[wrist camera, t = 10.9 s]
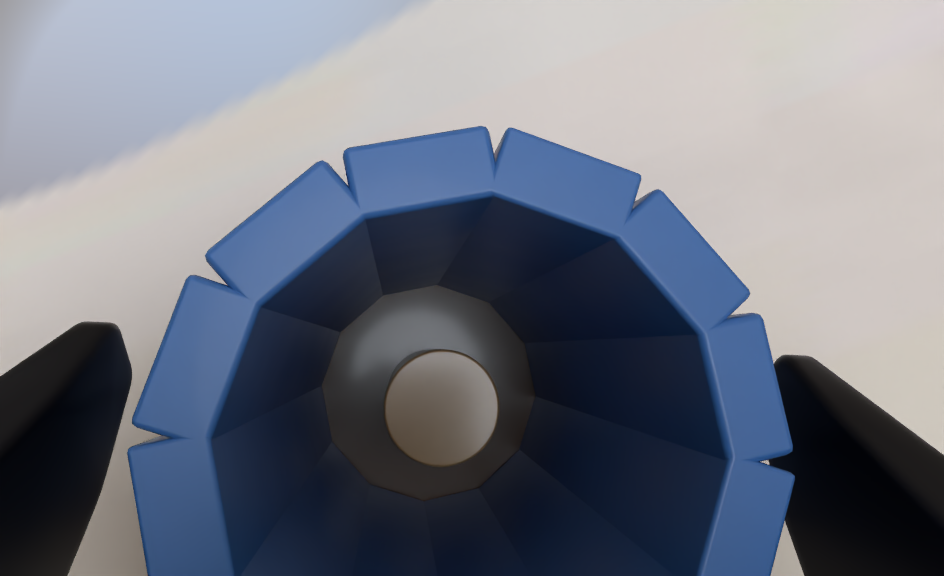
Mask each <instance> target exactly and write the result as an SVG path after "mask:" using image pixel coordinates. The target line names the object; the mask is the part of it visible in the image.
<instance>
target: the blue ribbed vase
mask: <svg viewBox="0 0 944 576" xmlns="http://www.w3.org/2000/svg"><path fill="white" fill-rule="evenodd" d="M343 160H344V165H345V170H346V175H347V181H348V185H347V184H346V183H345V182H344V181H343V180H342V179H341V178H340V176H339V175H338V174H337V173H336V172H335V171H334V170H333V168H332V167H331V166H330V165H329V164H328V163H326V162H324V161H319V162H316V163H315V164H314V165H313V166H311V167H310V168H309V169H308V170H307V171H305V172H304V173H303V174H302V175H300V176H299V177H298V178H297V179H295V180H294V181H293V182H292V183H290V184H289V185H288V186H287V187H286V188H284V189H283V190H282V191H281V192H279V193H278V194H277V195H276V196H274V197H273V198H272V199H271V200H269V201H268V202H267V203H266V204H265V205H263V206H262V207H261V208H260V209H258V210H257V211H256V212H255V213H253V214H252V215H251V216H250V217H248V218H247V219H246V220H245V221H244V222H242V223H241V224H240V225H239V226H237V227H236V228H235V229H234V230H232V231H231V232H230V233H229V234H227V235H226V236H225V237H224V238H223V239H221V240H220V241H219V242H218V243H216V244H215V245H214V246H213V247H211V248H210V249H209V250H208V251H207V253H206V255H205V257H206V260H207V262H208V263H209V265H210V266H211V267H212V268H213V269H214V270H215V271H216V273H217V274H218V275H219V276H220V277H221V278H222V279H223V280H224V282H225V283H226V284H227V285H228V286H227V285H224V284H221V283H218V282H215V281H212V280H209V279H206V278H203V277H200V276H197V275H190V276H189V277H188V278H187V279H186V280H185V283H184V286H183V288H182V291H181V293H180V296H179V299H178V301H177V304H176V306H175V309H174V311H173V314H172V317H171V319H170V322H169V324H168V327H167V330H166V332H165V335H164V337H163V340H162V342H161V345H160V348H159V350H158V353H157V355H156V358H155V361H154V363H153V366H152V368H151V371H150V373H149V376H148V379H147V381H146V384H145V386H144V389H143V392H142V394H141V397H140V399H139V402H138V404H137V407H136V410H135V412H134V415H133V417H132V424H133V425H134V426H136V427H137V428H140V429H143V430H146V431H150V432H153V433H156V434H159V435H162V436H159V437H156V438H154V439H151V440H148V441H145V442H143V443H140V444H137V445H135V446H132V447H131V448H129V449H128V452H127V454H128V460H129V466H130V472H131V478H132V484H133V490H134V496H135V502H136V508H137V514H138V520H139V526H140V532H141V537H142V543H143V549H144V555H145V561H146V567H147V573H148V576H770V575H771V571H772V567H773V563H774V559H775V555H776V551H777V547H778V543H779V540H780V536H781V532H782V528H783V524H784V520H785V516H786V512H787V508H788V505H789V501H790V497H791V493H792V489H793V485H794V481H795V476H794V475H793V474H792V473H791V472H789V471H786V470H782V469H779V468H776V467H773V466H770V465H767V464H764V463H761V462H760V461H764V460H769V459H773V458H777V457H781V456H785V455H787V454H789V453H790V452H792V450H793V444H792V440H791V436H790V432H789V427H788V423H787V419H786V415H785V411H784V406H783V402H782V398H781V394H780V389H779V385H778V381H777V377H776V372H775V368H774V364H773V360H772V355H771V351H770V347H769V343H768V339H767V334H766V330H765V326H764V322H763V319H762V317H761V316H760V315H759V314H755V313H746V314H736V315H731V314H732V313H733V312H734V311H735V310H736V309H737V308H738V307H739V306H740V305H741V304H742V303H743V302H744V301H745V300H746V299H747V298H748V297H749V295H750V292H749V289H748V288H747V287H746V286H745V285H744V284H743V283H742V281H741V280H740V279H739V278H738V277H737V276H736V275H735V273H734V272H733V271H732V270H731V269H730V268H729V267H728V266H727V264H726V263H725V262H724V261H723V260H722V259H721V258H720V256H719V255H718V254H717V253H716V252H715V251H714V250H713V248H712V247H711V246H710V245H709V244H708V243H707V242H706V240H705V239H704V238H703V237H702V236H701V235H700V234H699V232H698V231H697V230H696V229H695V228H694V227H693V226H692V225H691V223H690V222H689V221H688V220H687V219H686V218H685V217H684V215H683V214H682V213H681V212H680V211H679V210H678V209H677V207H676V206H675V205H674V204H673V203H672V202H671V201H670V199H669V198H668V197H667V196H666V195H665V194H664V193H663V192H662V191H661V190H659V189H657V190H654V191H652V192H650V193H648V194H647V195H645V196H644V197H642V198H640V199H639V200H637V201H635V198H636V195H637V192H638V188H639V185H640V182H641V175H639V174H638V173H635V172H633V171H630V170H627V169H624V168H622V167H619V166H616V165H613V164H611V163H608V162H605V161H602V160H600V159H597V158H594V157H591V156H589V155H586V154H583V153H580V152H578V151H575V150H572V149H569V148H567V147H564V146H561V145H558V144H556V143H553V142H550V141H547V140H545V139H542V138H539V137H536V136H534V135H531V134H528V133H525V132H522V131H520V130H517V129H514V128H508V129H507V130H506V131H505V133H504V135H503V137H502V139H501V141H500V143H499V145H498V147H497V149H496V151H495V153H493V148H492V143H491V139H490V134H489V131H488V130H487V128H486V127H483V126H478V127H472V128H466V129H460V130H453V131H447V132H441V133H435V134H429V135H423V136H417V137H411V138H405V139H399V140H393V141H387V142H381V143H375V144H369V145H363V146H357V147H351V148H348V149H346V150H345V151H344V153H343ZM348 186H349V187H348ZM434 285H439V286H442V287H445V288H448V289H451V290H454V291H457V292H459V293H462V294H465V295H468V296H471V297H474V298H477V299H480V300H483V301H486V302H489V303H490V304H491V306H492V307H493V308H494V309H495V310H496V311H497V312H498V314H499V315H500V316H501V317H502V318H503V319H504V320H505V321H506V323H507V324H508V325H509V326H510V327H511V328H512V329H513V331H514V332H515V333H516V334H517V335H518V336H519V337H520V338H521V340H522V341H523V342H524V343H525V347H526V352H527V357H528V361H529V366H530V371H531V376H532V380H533V385H534V390H535V395H536V397H535V400H534V403H533V407H532V410H531V413H530V416H529V419H528V423H527V426H526V429H525V432H524V436H523V439H522V442H521V445H520V448H519V451H518V452H517V453H516V454H514V455H513V456H512V457H511V458H510V459H509V460H508V461H507V462H506V463H505V464H504V465H503V466H502V467H501V468H500V469H499V470H498V471H496V472H495V473H494V474H493V475H492V476H491V477H490V478H489V479H488V480H487V481H486V482H485V483H484V484H483V485H482V486H481V487H480V488H477V489H473V490H469V491H465V492H460V493H456V494H452V495H448V496H444V497H439V498H435V499H431V500H427V501H421V500H418V499H415V498H412V497H408V496H405V495H402V494H399V493H396V492H392V491H389V490H386V489H383V488H380V487H376V486H373V485H370V484H369V483H368V482H367V481H366V480H365V478H364V477H363V476H362V475H361V474H360V473H359V472H358V470H357V469H356V468H355V467H354V466H353V465H352V464H351V463H350V461H349V460H348V459H347V458H346V457H345V456H344V455H343V454H342V452H341V451H340V450H339V449H338V448H337V447H336V446H335V445H334V443H333V442H332V438H331V433H330V427H329V422H328V417H327V412H326V406H325V401H324V396H323V390H322V383H323V380H324V377H325V375H326V372H327V369H328V366H329V363H330V360H331V358H332V355H333V352H334V349H335V346H336V343H337V341H338V338H339V335H340V332H341V331H342V330H343V329H345V328H346V327H347V326H348V325H349V324H350V323H352V322H353V321H354V320H355V319H356V318H357V317H359V316H360V315H361V314H362V313H363V312H364V311H366V310H367V309H368V308H369V307H370V306H371V305H372V304H374V303H375V302H376V301H377V300H378V299H379V298H381V297H382V296H383V295H388V294H393V293H398V292H403V291H408V290H413V289H418V288H423V287H428V286H434Z"/></svg>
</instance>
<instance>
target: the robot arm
mask: <svg viewBox="0 0 944 576" xmlns="http://www.w3.org/2000/svg"><path fill="white" fill-rule="evenodd" d="M774 368H775V372H776V377H777V381H778V385H779V389H780V394H781V398H782V402H783V406H784V411H785V415H786V419H787V423H788V427H789V432H790V436H791V440H792V444H793V450H792V452H790V453H789V454H787V455H785V456H781V457H777V458H773V459H769V464H770V466H773V467H776V468H779V469H782V470H786V471H789V472H791V473H792V474H793V475H794V476H795V481H794V485H793V489H792V493H791V497H790V501H789V505H788V508H787V512H786V516H785V522H786V525H787V528H788V531H789V534H790V536H791V539H792V542H793V545H794V548H795V550H796V553H797V556H798V559H799V562H800V565H801V567H802V570H803V573H804V576H944V455H943V454H942V453H940V452H939V451H937V450H936V449H935V448H933V447H932V446H931V445H929V444H928V443H927V442H925V441H924V440H923V439H921V438H920V437H919V436H917V435H916V434H915V433H913V432H912V431H911V430H909V429H908V428H907V427H905V426H904V425H903V424H901V423H900V422H899V421H897V420H896V419H895V418H893V417H892V416H891V415H889V414H888V413H887V412H885V411H884V410H883V409H881V408H880V407H879V406H877V405H876V404H874V403H873V402H872V401H870V400H869V399H868V398H866V397H865V396H864V395H862V394H861V393H860V392H858V391H857V390H856V389H854V388H853V387H852V386H850V385H849V384H848V383H846V382H845V381H844V380H842V379H841V378H840V377H838V376H837V375H836V374H834V373H833V372H832V371H830V370H829V369H828V368H826V367H825V366H824V365H822V364H821V363H820V362H818V361H817V360H815V359H814V358H812V357H809V356H802V355H783V356H781V357H779V358H778V359H777V360H776V361H775V363H774ZM131 380H132V368H131V364H130V361H129V357H128V354H127V351H126V348H125V344H124V341H123V338H122V334H121V331H120V329H119V328H118V326H117V325H115V324H113V323H108V322H81V323H79V324H77V325H75V326H73V327H72V328H70V329H69V330H68V331H66V332H65V333H63V334H62V335H60V336H59V337H57V338H56V339H54V340H53V341H51V342H50V343H49V344H47V345H46V346H44V347H43V348H41V349H40V350H38V351H37V352H35V353H34V354H32V355H31V356H29V357H28V358H27V359H25V360H24V361H22V362H21V363H19V364H18V365H16V366H15V367H13V368H12V369H10V370H9V371H8V372H6V373H5V374H3V375H2V376H0V576H67V575H68V573H69V570H70V568H71V566H72V563H73V561H74V558H75V556H76V553H77V551H78V548H79V546H80V543H81V541H82V539H83V536H84V534H85V531H86V529H87V526H88V524H89V521H90V519H91V516H92V514H93V511H94V509H95V506H96V504H97V501H98V498H99V496H100V493H101V490H102V487H103V484H104V480H105V477H106V474H107V470H108V467H109V463H110V459H111V456H112V452H113V448H114V445H115V441H116V437H117V434H118V430H119V426H120V423H121V419H122V415H123V412H124V408H125V404H126V401H127V397H128V393H129V390H130V386H131Z"/></svg>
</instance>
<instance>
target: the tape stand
mask: <svg viewBox="0 0 944 576" xmlns="http://www.w3.org/2000/svg"><path fill="white" fill-rule="evenodd" d="M322 390H323V396H324V401H325V406H326V412H327V417H328V422H329V427H330V433H331V438H332V442H333V443H334V445H335V446H336V447H337V448H338V449H339V450H340V451H341V452H342V454H343V455H344V456H345V457H346V458H347V459H348V460H349V461H350V463H351V464H352V465H353V466H354V467H355V468H356V469H357V470H358V472H359V473H360V474H361V475H362V476H363V477H364V478H365V480H366V481H367V482H368V483H369V484H370V485H373V486H376V487H380V488H383V489H386V490H389V491H392V492H396V493H399V494H402V495H405V496H408V497H412V498H415V499H418V500H421V501H427V500H431V499H435V498H439V497H444V496H448V495H452V494H456V493H460V492H465V491H469V490H473V489H477V488H480V487H481V486H482V485H483V484H484V483H485V482H486V481H487V480H488V479H489V478H490V477H491V476H492V475H493V474H494V473H495V472H496V471H498V470H499V469H500V468H501V467H502V466H503V465H504V464H505V463H506V462H507V461H508V460H509V459H510V458H511V457H512V456H513V455H514V454H516V453H517V452H518V451H519V448H520V445H521V442H522V439H523V436H524V432H525V429H526V426H527V423H528V419H529V416H530V413H531V410H532V407H533V403H534V400H535V397H536V395H535V390H534V385H533V380H532V376H531V371H530V366H529V361H528V357H527V352H526V347H525V343H524V342H523V341H522V340H521V338H520V337H519V336H518V335H517V334H516V333H515V332H514V331H513V329H512V328H511V327H510V326H509V325H508V324H507V323H506V321H505V320H504V319H503V318H502V317H501V316H500V315H499V314H498V312H497V311H496V310H495V309H494V308H493V307H492V306H491V304H490V303H489V302H486V301H483V300H480V299H477V298H474V297H471V296H468V295H465V294H462V293H459V292H457V291H454V290H451V289H448V288H445V287H442V286H439V285H434V286H428V287H423V288H418V289H413V290H408V291H403V292H398V293H393V294H388V295H383V296H382V297H381V298H379V299H378V300H377V301H376V302H375V303H374V304H372V305H371V306H370V307H369V308H368V309H367V310H366V311H364V312H363V313H362V314H361V315H360V316H359V317H357V318H356V319H355V320H354V321H353V322H352V323H350V324H349V325H348V326H347V327H346V328H345V329H343V330H342V331H341V332H340V335H339V338H338V341H337V343H336V346H335V349H334V352H333V355H332V358H331V360H330V363H329V366H328V369H327V372H326V375H325V377H324V380H323V383H322Z"/></svg>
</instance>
